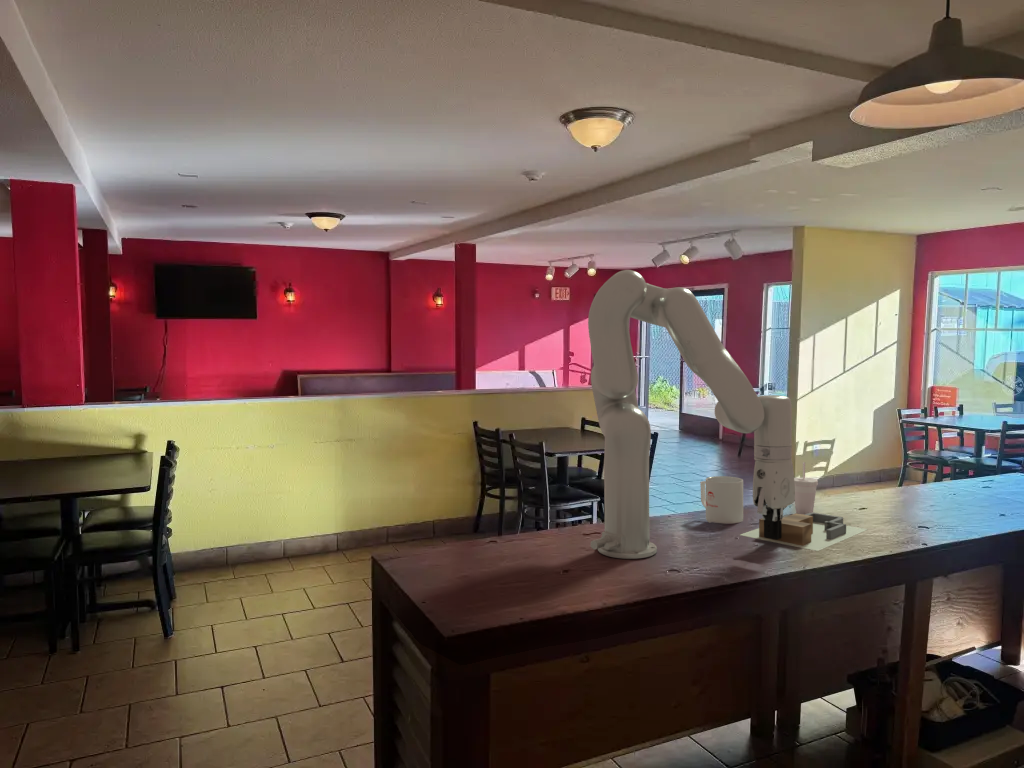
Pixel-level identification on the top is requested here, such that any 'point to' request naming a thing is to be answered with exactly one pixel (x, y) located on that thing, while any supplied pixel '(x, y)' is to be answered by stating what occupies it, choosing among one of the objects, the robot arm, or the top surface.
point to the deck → (819, 532)
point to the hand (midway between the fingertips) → (772, 537)
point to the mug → (723, 499)
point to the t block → (793, 529)
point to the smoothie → (805, 493)
